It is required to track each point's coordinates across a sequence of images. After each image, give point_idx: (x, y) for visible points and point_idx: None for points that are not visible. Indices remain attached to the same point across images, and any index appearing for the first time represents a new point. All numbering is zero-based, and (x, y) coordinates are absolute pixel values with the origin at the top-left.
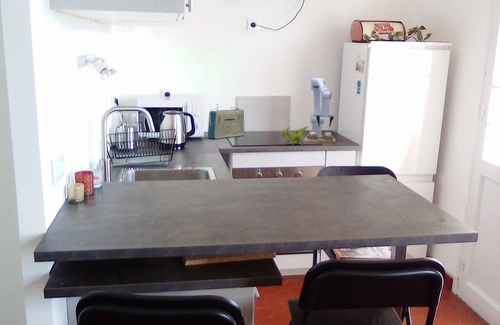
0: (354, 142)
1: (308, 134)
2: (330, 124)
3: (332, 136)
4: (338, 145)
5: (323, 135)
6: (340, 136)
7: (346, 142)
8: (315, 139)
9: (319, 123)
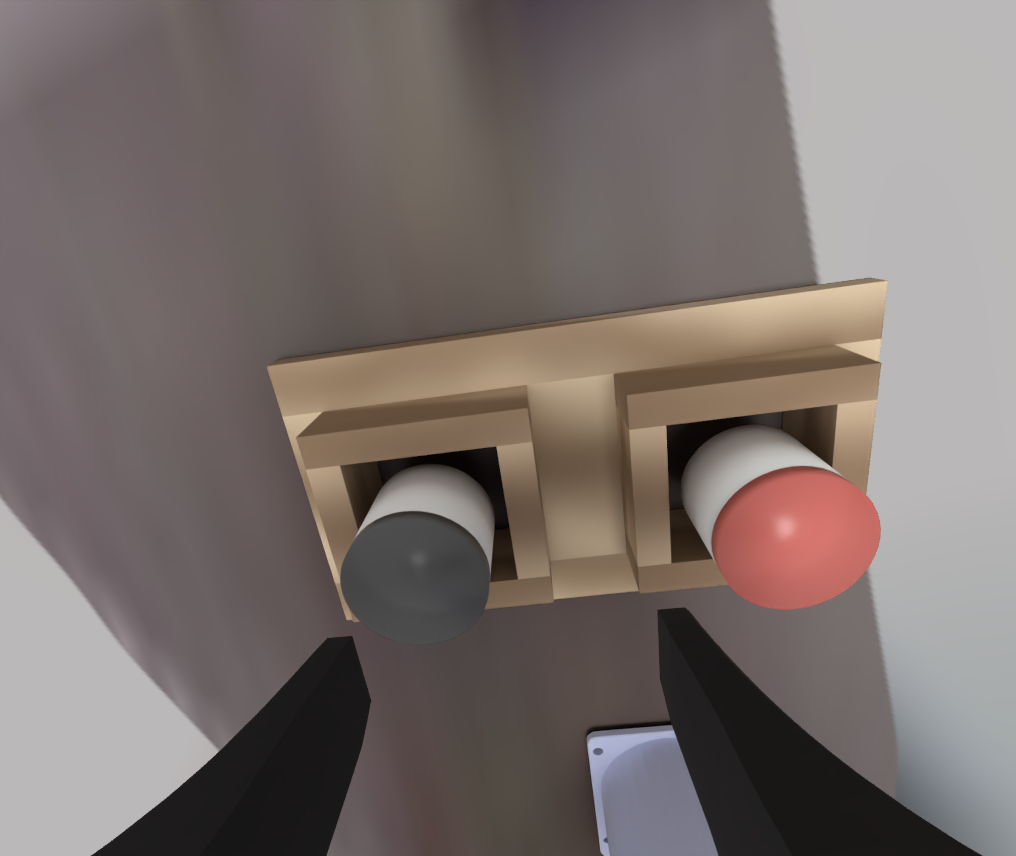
0: (14, 514)
1: None
2: (269, 701)
3: (333, 510)
4: (120, 61)
5: (524, 550)
6: (356, 846)
7: (121, 465)
8: (657, 370)
9: (692, 761)
